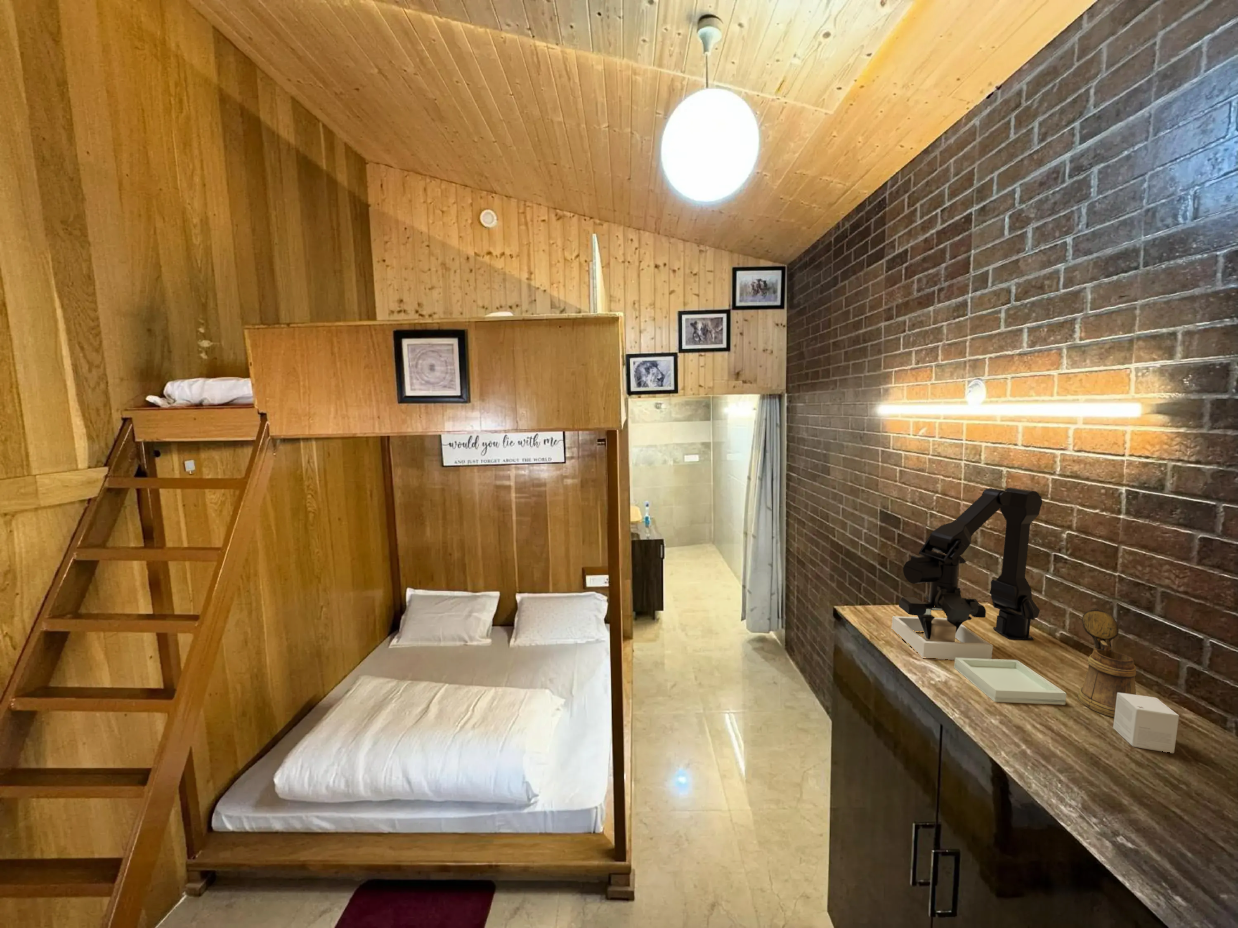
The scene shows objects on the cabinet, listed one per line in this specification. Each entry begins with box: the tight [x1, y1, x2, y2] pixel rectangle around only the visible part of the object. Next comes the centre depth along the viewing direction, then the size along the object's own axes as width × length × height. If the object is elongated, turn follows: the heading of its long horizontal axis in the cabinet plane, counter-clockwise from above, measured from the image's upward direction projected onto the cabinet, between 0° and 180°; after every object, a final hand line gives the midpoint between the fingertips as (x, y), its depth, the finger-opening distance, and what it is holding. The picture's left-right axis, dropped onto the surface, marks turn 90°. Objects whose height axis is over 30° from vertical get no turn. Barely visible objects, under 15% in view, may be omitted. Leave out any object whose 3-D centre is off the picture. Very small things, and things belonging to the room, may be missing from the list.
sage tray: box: [953, 658, 1067, 706], centre depth 113 cm, size 14×14×2 cm
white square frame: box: [891, 615, 994, 661], centre depth 132 cm, size 16×16×4 cm
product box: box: [1112, 693, 1180, 754], centre depth 94 cm, size 6×6×7 cm
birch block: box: [922, 619, 956, 642], centre depth 131 cm, size 5×5×6 cm
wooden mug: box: [1077, 606, 1137, 718], centre depth 106 cm, size 9×14×18 cm, turn 157°
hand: (938, 639), depth 132 cm, fingers closed on birch block, 5 cm apart
